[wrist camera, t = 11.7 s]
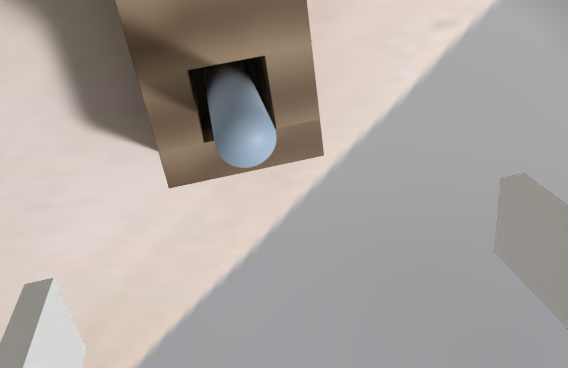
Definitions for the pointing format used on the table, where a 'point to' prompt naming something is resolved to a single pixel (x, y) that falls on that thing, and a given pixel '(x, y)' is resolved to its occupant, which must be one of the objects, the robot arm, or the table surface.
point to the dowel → (238, 116)
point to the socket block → (217, 50)
